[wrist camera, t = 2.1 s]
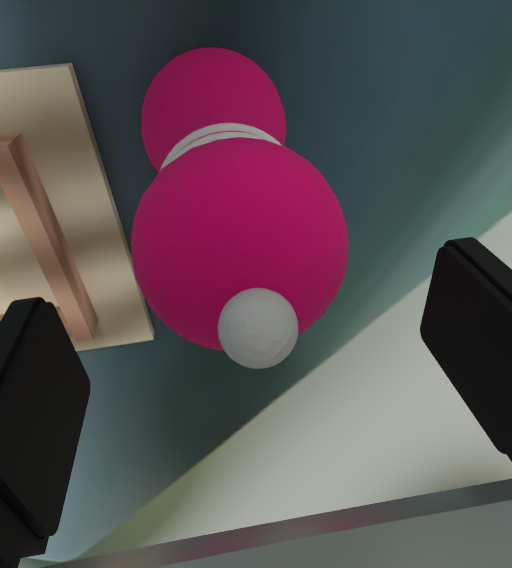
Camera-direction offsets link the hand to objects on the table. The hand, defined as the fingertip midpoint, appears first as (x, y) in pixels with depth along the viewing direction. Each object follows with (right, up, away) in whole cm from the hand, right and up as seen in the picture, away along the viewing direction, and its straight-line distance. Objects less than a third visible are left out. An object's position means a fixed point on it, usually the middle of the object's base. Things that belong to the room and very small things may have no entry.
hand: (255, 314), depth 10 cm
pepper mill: (-3, +11, +14) cm, 18 cm away
